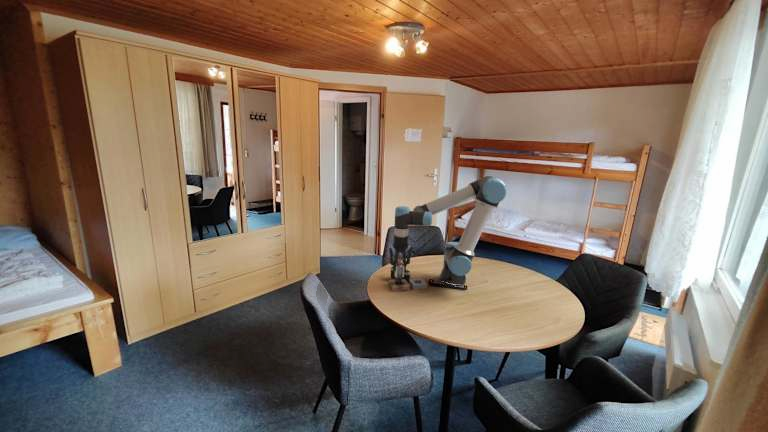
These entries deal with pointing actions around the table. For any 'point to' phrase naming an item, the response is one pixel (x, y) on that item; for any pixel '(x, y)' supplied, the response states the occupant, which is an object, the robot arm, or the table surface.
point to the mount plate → (417, 284)
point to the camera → (406, 276)
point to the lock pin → (399, 271)
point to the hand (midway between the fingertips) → (399, 276)
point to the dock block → (399, 285)
